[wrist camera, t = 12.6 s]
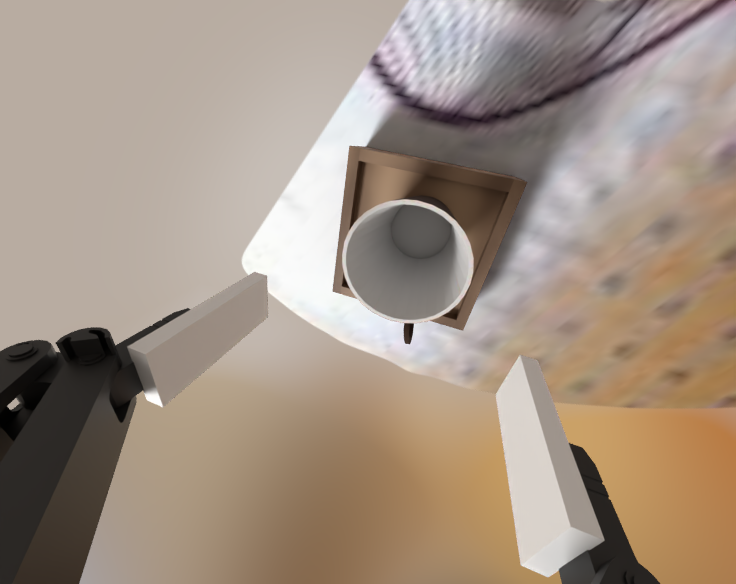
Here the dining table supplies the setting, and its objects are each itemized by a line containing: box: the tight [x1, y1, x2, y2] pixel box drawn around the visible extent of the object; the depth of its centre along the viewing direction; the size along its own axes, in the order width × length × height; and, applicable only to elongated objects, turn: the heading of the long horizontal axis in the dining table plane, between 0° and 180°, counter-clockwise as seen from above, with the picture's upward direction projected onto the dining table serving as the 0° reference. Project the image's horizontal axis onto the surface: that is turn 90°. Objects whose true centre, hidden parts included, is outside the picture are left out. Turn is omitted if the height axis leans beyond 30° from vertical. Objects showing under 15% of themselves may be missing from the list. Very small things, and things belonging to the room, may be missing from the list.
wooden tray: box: [333, 146, 527, 330], centre depth 28 cm, size 15×15×5 cm
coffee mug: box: [342, 195, 474, 344], centre depth 23 cm, size 12×9×10 cm
